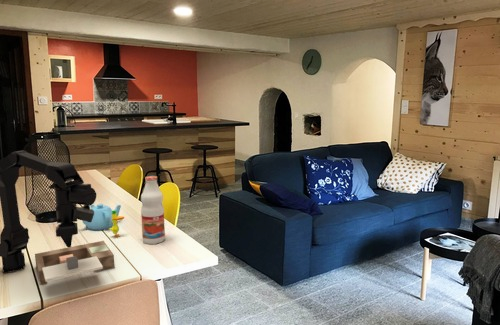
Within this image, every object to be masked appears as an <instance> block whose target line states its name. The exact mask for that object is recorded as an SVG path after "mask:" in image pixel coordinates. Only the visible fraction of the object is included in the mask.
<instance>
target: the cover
mask: <svg viewBox="0 0 500 325" xmlns="http://www.w3.org/2000/svg"><path fill="white" fill-rule="evenodd" d="M66 261H67V263H63V264H58V265H53V266H48V267H44V268H42V270H43V274H44V278H45V281H46V282H47V283H48V282H51V281H55V280H59V279H60V280H61V279H64V278H68V277H73V276H76V275H82V274H85V273H90V272H94V271H95V270H99V269H103V266H102V264H101V263H100V261H99V259H98V258H97V256H95V257H91V258H86V259H81V260H78V259H77V257H76V256H73V257H69V258H66Z"/></svg>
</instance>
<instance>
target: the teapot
mask: <svg viewBox="0 0 500 325" xmlns="http://www.w3.org/2000/svg"><path fill="white" fill-rule="evenodd" d="M121 206H122V205H121V204H117V205H116V207H115V209H114V210H116V212H117V217H119V214H120V211H121ZM90 209H93V210H94V216H93V219H92V222H87V221H83V220H81V221H82V223H83V224H84V225H85V226H86V228H88V229H89V230H92V231H102V230H103V231H104V229H105V230H108V228H112V227H113V221H112V220H111V219H112V211H113V209H112V208H111V207H110V206H108V205H104V204H103V203H98V204H96V205H95V204H92V205H90Z"/></svg>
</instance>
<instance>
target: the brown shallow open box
mask: <svg viewBox="0 0 500 325" xmlns="http://www.w3.org/2000/svg"><path fill="white" fill-rule="evenodd" d="M70 254H73V256H76V257H77V259H78V260H81V259H86V258H91V257H95V256H97V258H98V259H99V261H100V263H101V264H102V266H103V269H99V270H95V271H93V273H97V272H102V271H105V270H106V271H107V270H111V269H114V268H115V266H116V265H115V254H114V253H113V251H112V250H111V249H110V248H109V246H108V245H107V244H106V242H105V241H104V240H100V241H96V242H90V243H86V244H85V243H84V244H81V245H74V246H71V247H64V248H58V249H55V250H53V249H52V250H49V251H43V252H38V253H34V258H35V259H34V260H35V268H36V272H37V276H38V281H39V285H40V286H41V285H47V284H48V281H47V282H46V281H45V278H44V274H43V270H42V268H44V267H48V266H53V265H58V264H60V261H59V257H60V256H65V255H70Z"/></svg>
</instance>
